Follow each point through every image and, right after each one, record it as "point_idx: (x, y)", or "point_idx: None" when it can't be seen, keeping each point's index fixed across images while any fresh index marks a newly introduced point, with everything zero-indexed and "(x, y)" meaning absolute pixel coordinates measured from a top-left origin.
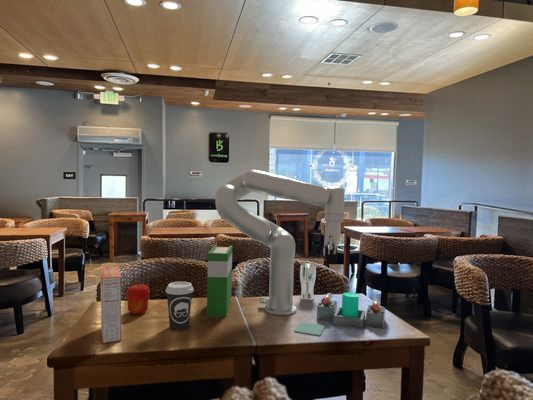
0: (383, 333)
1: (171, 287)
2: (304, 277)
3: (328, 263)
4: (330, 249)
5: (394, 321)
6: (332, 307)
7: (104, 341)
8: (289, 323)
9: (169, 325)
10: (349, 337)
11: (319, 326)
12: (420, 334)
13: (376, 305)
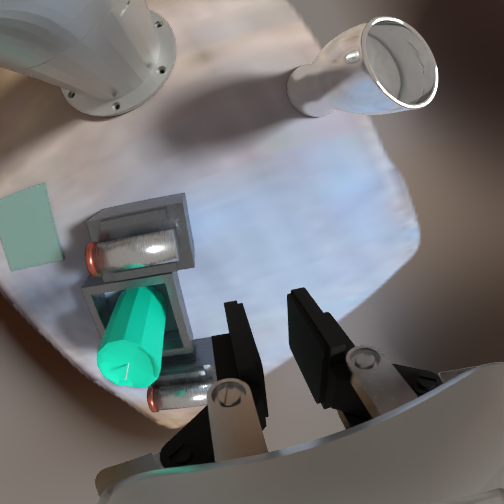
0: None
1: None
2: (323, 60)
3: (225, 307)
4: (109, 483)
5: None
6: (107, 278)
7: None
8: (26, 155)
9: None
10: (55, 329)
11: (48, 248)
12: (181, 424)
13: (152, 409)
